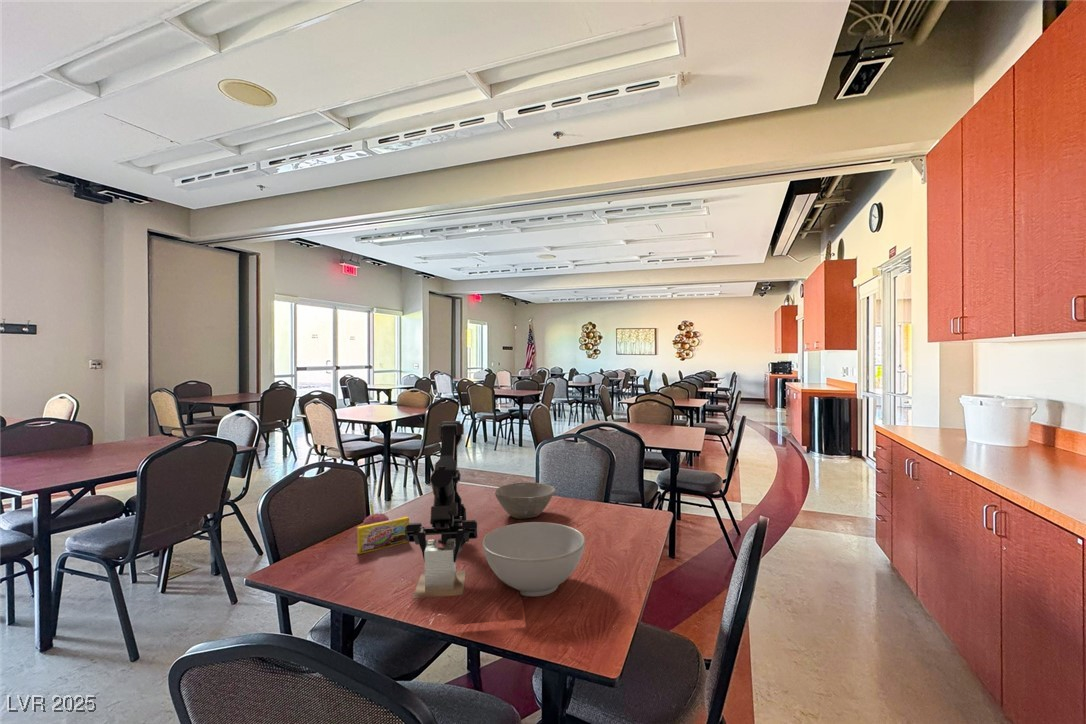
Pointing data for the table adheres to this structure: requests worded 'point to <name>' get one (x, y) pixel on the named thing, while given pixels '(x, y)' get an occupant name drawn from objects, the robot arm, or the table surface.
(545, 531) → the decorative bowl
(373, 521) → the pink sprinkled cake pop
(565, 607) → the table surface
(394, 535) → the candy box
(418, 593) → the peg stand
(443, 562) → the c link
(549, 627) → the table surface
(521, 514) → the ceramic bowl
